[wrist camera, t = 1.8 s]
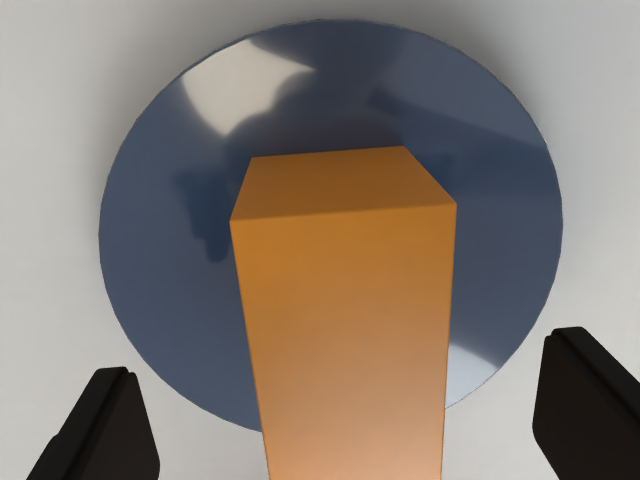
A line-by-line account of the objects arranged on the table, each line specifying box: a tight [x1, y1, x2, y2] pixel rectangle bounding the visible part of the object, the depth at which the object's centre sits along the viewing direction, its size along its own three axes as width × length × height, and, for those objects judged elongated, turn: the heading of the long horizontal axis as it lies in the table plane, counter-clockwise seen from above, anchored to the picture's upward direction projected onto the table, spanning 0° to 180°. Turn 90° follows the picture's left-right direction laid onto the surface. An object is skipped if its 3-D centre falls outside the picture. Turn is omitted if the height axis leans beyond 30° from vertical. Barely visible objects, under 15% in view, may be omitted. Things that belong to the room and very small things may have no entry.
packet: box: [229, 146, 457, 480], centre depth 13 cm, size 8×4×5 cm, turn 4°
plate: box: [98, 19, 563, 432], centre depth 16 cm, size 15×15×2 cm
